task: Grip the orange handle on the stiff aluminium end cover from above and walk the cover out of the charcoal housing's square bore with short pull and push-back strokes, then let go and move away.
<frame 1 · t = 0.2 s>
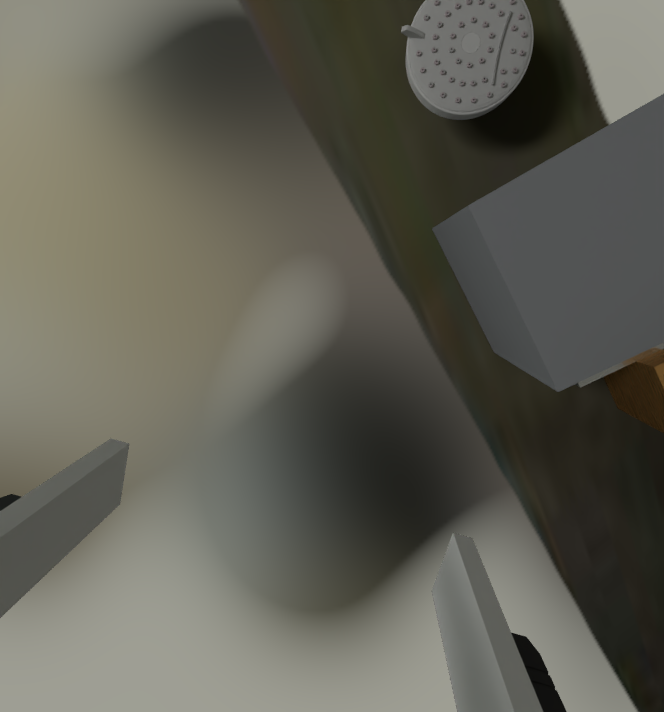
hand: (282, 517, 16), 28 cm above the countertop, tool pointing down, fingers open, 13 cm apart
showerhead: (448, 84, 37), on the countertop
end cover: (604, 311, 31), point 9 cm above the countertop, slide at 0.0 cm
housing: (551, 301, 40), on the countertop
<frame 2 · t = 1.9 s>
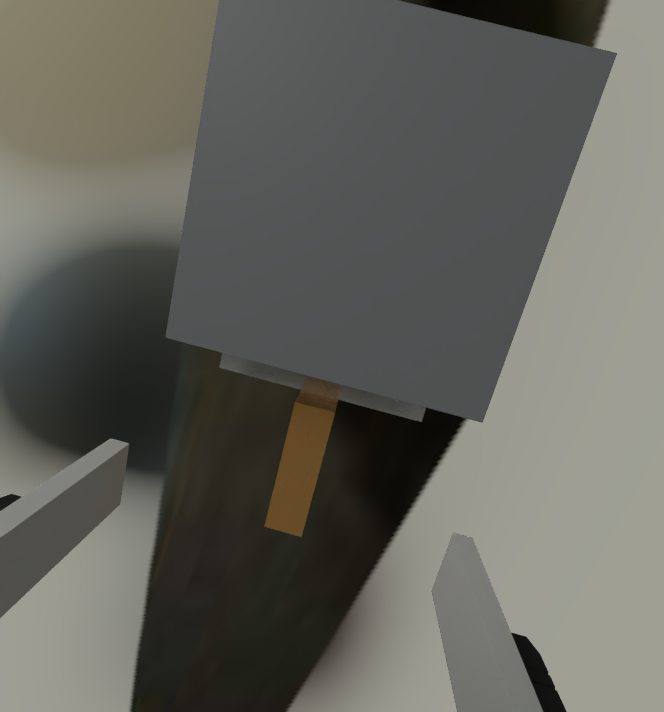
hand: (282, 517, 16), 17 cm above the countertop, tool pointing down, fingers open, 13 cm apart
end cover: (340, 321, 22), point 9 cm above the countertop, slide at 0.0 cm
housing: (348, 304, 30), on the countertop
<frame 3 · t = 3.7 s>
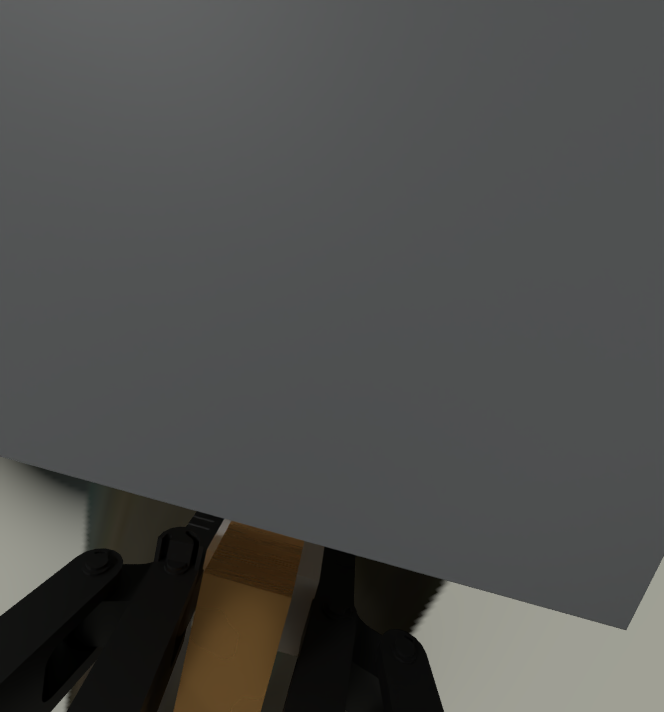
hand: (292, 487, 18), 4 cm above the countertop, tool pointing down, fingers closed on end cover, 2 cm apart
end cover: (316, 370, 12), point 9 cm above the countertop, slide at 0.0 cm, touching gripper
housing: (336, 327, 21), on the countertop
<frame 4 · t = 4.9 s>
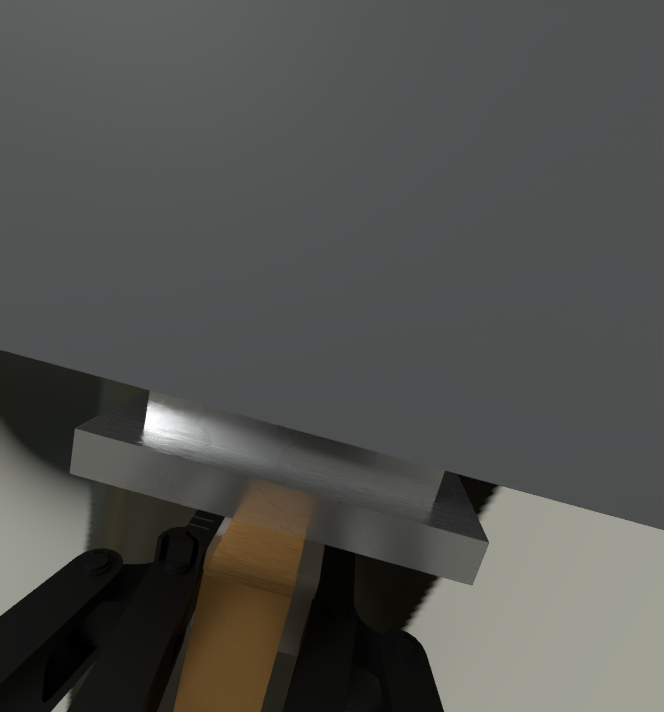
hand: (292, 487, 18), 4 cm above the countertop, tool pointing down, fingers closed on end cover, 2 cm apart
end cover: (316, 370, 12), point 9 cm above the countertop, slide at 2.1 cm, touching gripper
housing: (347, 286, 20), on the countertop
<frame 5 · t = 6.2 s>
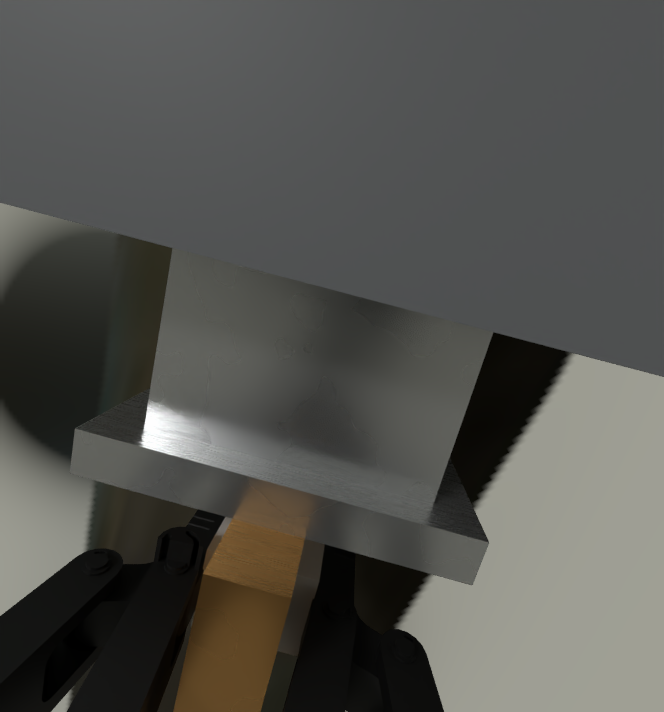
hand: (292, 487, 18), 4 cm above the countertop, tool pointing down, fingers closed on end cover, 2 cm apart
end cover: (316, 370, 12), point 9 cm above the countertop, slide at 4.7 cm, touching gripper
housing: (360, 236, 20), on the countertop
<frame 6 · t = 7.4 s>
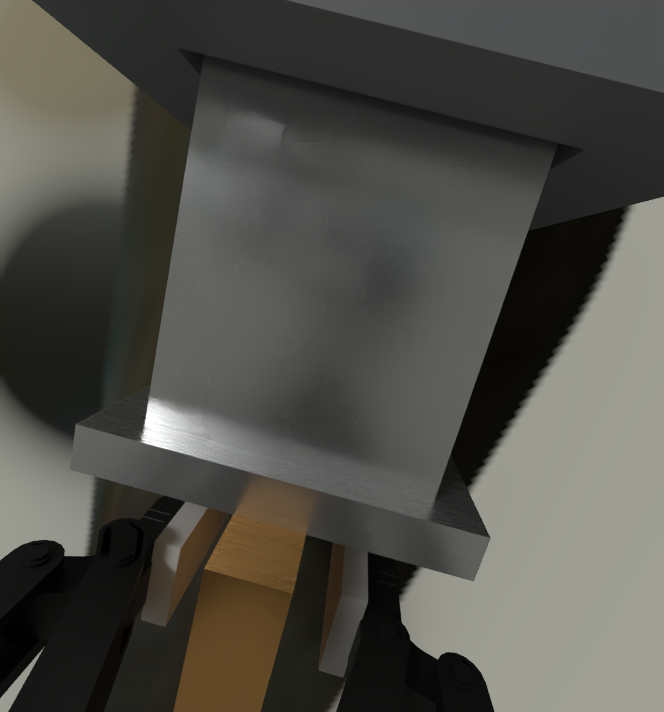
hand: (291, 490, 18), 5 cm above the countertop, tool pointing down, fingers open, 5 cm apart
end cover: (317, 367, 12), point 9 cm above the countertop, slide at 8.4 cm
housing: (381, 155, 19), on the countertop
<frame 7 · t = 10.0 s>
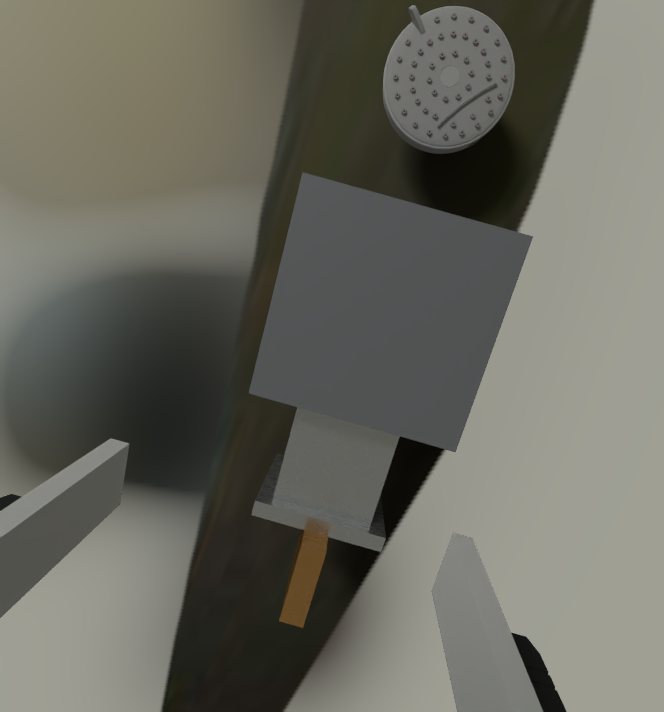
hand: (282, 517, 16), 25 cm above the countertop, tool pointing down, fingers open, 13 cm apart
showerhead: (430, 112, 36), on the countertop
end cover: (330, 474, 32), point 9 cm above the countertop, slide at 8.4 cm
housing: (359, 355, 40), on the countertop
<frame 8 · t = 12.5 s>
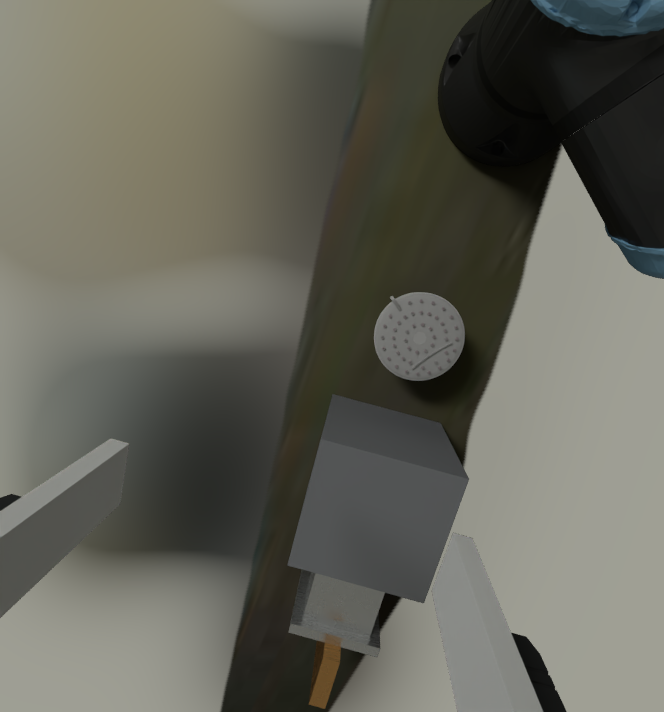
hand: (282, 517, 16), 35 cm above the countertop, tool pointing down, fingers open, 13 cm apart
showerhead: (410, 327, 49), on the countertop
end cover: (341, 596, 46), point 9 cm above the countertop, slide at 8.4 cm
housing: (361, 491, 53), on the countertop
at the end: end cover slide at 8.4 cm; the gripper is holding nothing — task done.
